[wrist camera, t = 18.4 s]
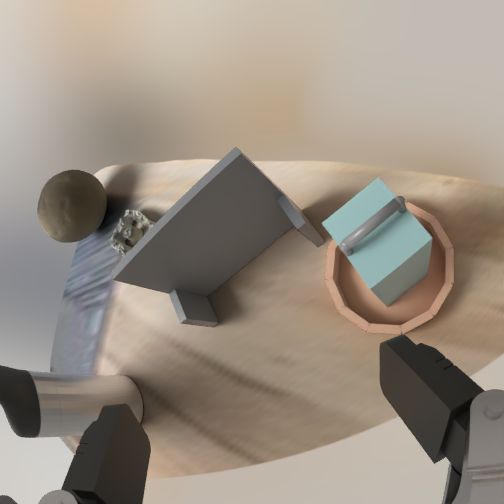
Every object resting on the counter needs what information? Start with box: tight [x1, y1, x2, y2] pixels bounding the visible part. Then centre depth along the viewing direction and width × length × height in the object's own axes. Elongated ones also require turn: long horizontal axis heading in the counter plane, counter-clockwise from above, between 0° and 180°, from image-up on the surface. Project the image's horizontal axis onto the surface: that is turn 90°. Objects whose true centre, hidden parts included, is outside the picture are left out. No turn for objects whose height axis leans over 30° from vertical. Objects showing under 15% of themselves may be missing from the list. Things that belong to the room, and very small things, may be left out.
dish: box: [325, 201, 454, 335], centre depth 27 cm, size 13×13×2 cm
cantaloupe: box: [37, 170, 107, 242], centre depth 52 cm, size 14×14×15 cm
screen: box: [111, 147, 325, 327], centre depth 31 cm, size 5×17×14 cm, turn 121°
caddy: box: [322, 178, 432, 307], centre depth 22 cm, size 6×5×14 cm
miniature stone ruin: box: [108, 210, 156, 257], centre depth 48 cm, size 11×8×4 cm
